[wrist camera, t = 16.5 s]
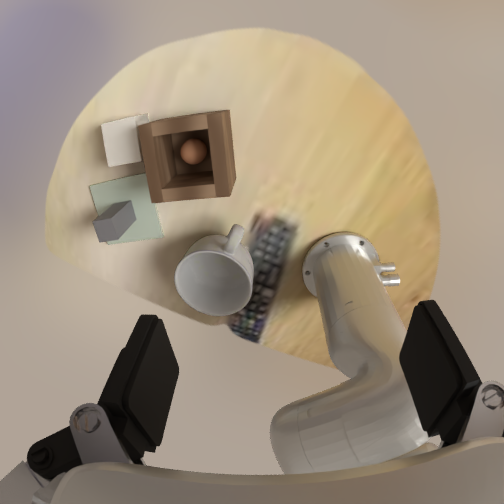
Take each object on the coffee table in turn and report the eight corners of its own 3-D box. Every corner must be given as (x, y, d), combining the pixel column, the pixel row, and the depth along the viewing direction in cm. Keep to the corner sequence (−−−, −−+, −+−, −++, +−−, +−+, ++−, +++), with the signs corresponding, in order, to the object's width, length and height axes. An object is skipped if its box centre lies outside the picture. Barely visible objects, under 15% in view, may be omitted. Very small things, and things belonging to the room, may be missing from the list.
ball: (207, 135, 38) (202, 138, 35) (210, 160, 39) (205, 165, 36) (182, 138, 38) (175, 142, 35) (185, 162, 40) (179, 168, 37)
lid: (148, 171, 42) (127, 187, 35) (164, 235, 47) (148, 260, 40) (91, 184, 43) (65, 201, 36) (109, 242, 48) (88, 266, 41)
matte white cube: (148, 113, 37) (134, 116, 33) (154, 153, 40) (141, 161, 36) (117, 119, 38) (100, 124, 33) (123, 158, 40) (108, 167, 36)
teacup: (229, 296, 51) (224, 328, 44) (174, 262, 49) (160, 291, 42) (281, 236, 46) (284, 264, 39) (220, 195, 43) (211, 216, 36)
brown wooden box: (229, 109, 37) (221, 112, 30) (236, 178, 41) (229, 196, 34) (160, 119, 38) (138, 125, 31) (170, 184, 42) (151, 203, 35)
